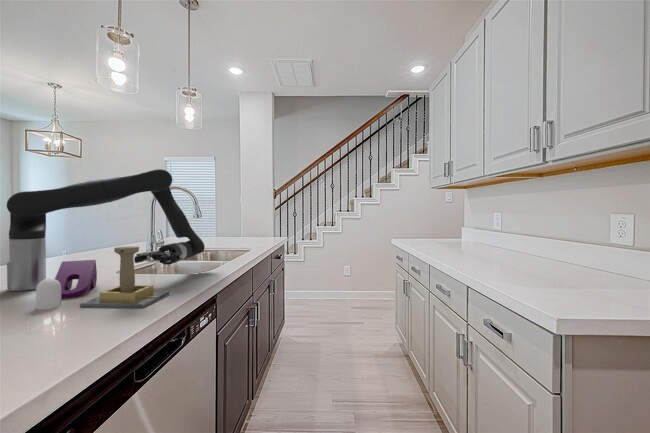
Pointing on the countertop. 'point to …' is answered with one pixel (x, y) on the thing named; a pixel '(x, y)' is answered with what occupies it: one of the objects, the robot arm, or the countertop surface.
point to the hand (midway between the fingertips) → (148, 259)
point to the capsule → (48, 294)
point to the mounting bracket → (76, 277)
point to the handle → (127, 267)
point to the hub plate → (126, 298)
